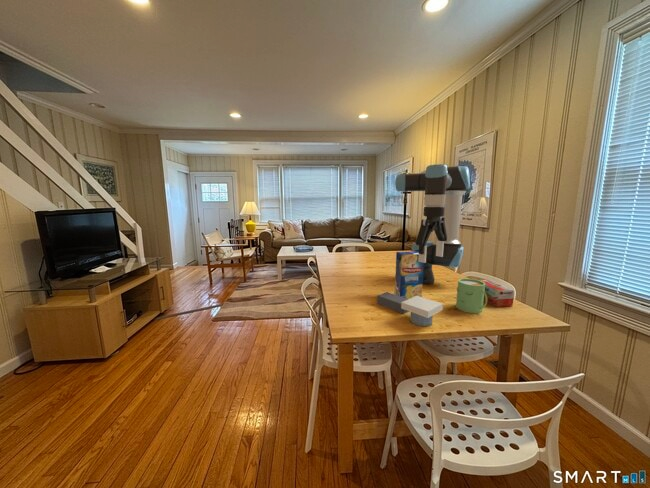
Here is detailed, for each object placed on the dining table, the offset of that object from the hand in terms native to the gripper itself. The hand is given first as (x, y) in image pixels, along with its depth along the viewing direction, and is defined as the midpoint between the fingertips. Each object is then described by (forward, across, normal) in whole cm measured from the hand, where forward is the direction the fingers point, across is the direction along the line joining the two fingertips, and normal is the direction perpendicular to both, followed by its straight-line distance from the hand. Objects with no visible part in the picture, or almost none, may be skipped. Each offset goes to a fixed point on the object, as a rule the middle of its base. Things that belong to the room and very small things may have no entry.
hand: (430, 259), depth 103 cm
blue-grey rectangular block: (+23, +6, -12) cm, 27 cm away
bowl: (+23, +10, +2) cm, 25 cm away
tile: (+18, +10, +2) cm, 20 cm away
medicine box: (+25, -36, +12) cm, 45 cm away
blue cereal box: (+24, -9, -16) cm, 30 cm away
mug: (+24, -17, +10) cm, 31 cm away
